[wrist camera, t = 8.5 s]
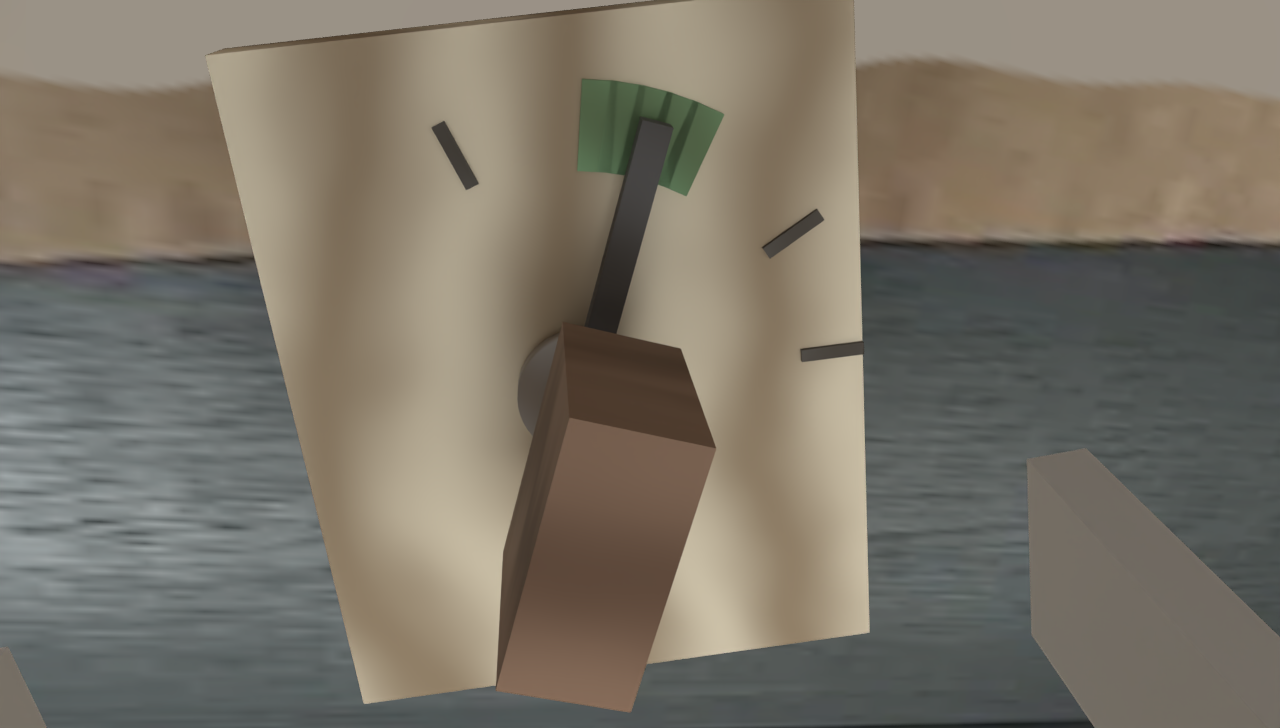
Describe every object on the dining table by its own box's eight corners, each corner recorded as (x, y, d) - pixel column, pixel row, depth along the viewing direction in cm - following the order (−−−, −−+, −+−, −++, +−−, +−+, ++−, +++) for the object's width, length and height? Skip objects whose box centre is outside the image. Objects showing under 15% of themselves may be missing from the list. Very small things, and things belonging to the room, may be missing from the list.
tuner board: (834, -20, 32) (855, -18, 30) (853, 600, 40) (870, 635, 38) (224, 48, 31) (203, 55, 29) (371, 667, 39) (363, 706, 37)
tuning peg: (587, 102, 30) (612, 179, 20) (722, 137, 31) (808, 229, 21) (494, 474, 34) (478, 687, 24) (615, 498, 35) (647, 715, 25)
